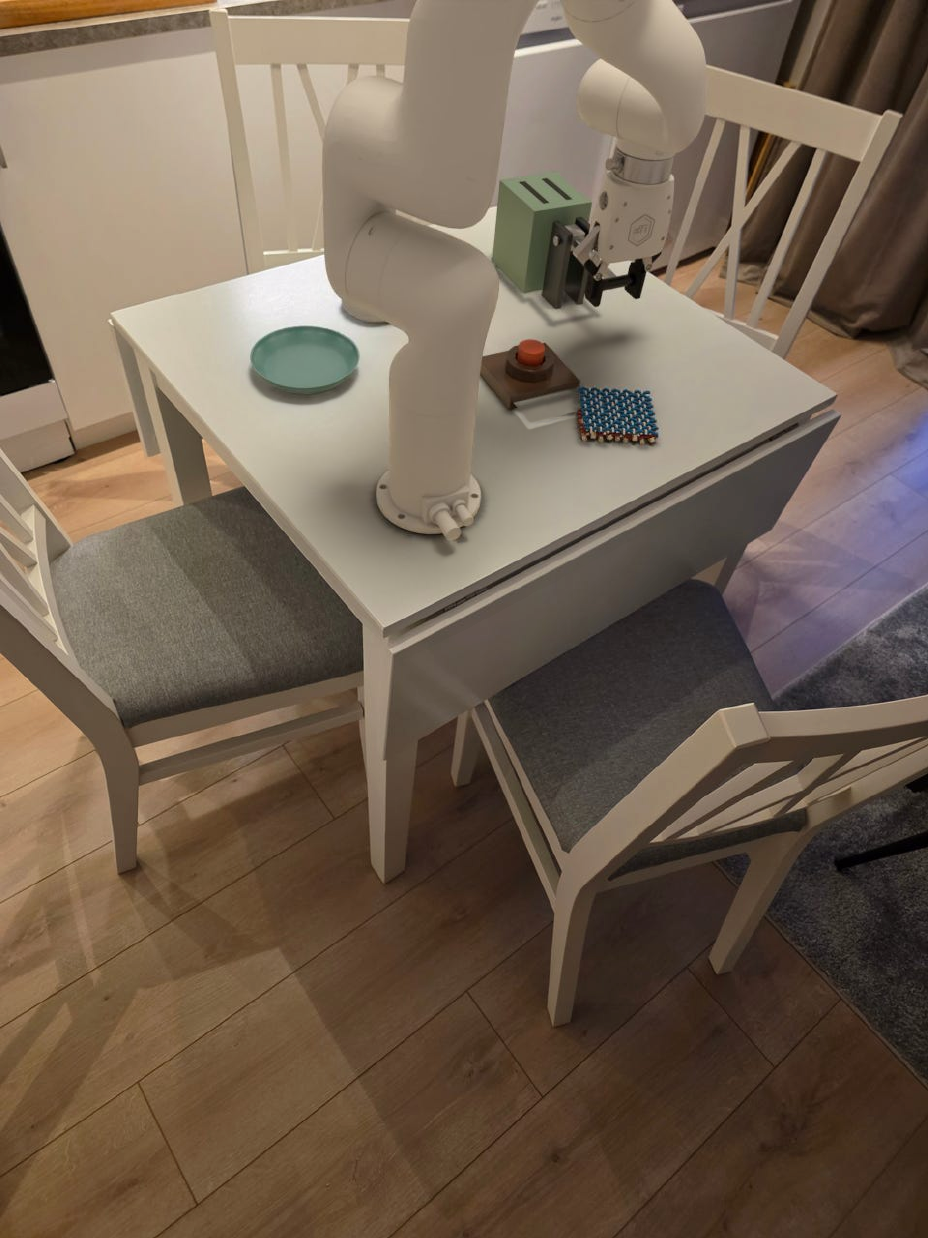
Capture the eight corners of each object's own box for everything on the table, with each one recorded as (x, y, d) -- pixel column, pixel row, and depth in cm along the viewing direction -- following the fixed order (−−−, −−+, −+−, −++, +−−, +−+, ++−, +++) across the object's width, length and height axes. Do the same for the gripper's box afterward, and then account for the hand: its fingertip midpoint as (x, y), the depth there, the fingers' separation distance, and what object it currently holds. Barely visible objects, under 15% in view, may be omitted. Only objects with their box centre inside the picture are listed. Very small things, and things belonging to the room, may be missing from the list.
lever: (633, 289, 117) (637, 274, 115) (598, 296, 115) (601, 281, 113) (583, 237, 124) (586, 221, 122) (549, 243, 122) (552, 227, 120)
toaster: (576, 290, 133) (592, 201, 122) (522, 300, 130) (534, 210, 119) (542, 258, 139) (555, 171, 128) (490, 267, 136) (499, 178, 125)
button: (547, 363, 113) (550, 350, 111) (525, 369, 112) (526, 355, 110) (535, 350, 115) (537, 336, 113) (512, 355, 113) (514, 341, 112)
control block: (577, 393, 115) (583, 368, 112) (509, 410, 111) (512, 385, 108) (543, 355, 120) (547, 330, 117) (476, 370, 117) (478, 345, 114)
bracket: (595, 315, 129) (612, 233, 119) (551, 324, 126) (565, 242, 116) (569, 289, 133) (583, 209, 123) (526, 298, 130) (537, 217, 121)
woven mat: (572, 394, 115) (574, 382, 113) (646, 399, 115) (650, 387, 114) (578, 442, 108) (580, 429, 106) (657, 447, 109) (661, 434, 107)
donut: (356, 287, 129) (331, 317, 123) (355, 266, 127) (330, 295, 120) (416, 301, 128) (393, 332, 121) (416, 280, 125) (394, 310, 119)
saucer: (230, 366, 113) (227, 349, 111) (315, 330, 120) (314, 313, 118) (297, 417, 107) (295, 400, 105) (381, 375, 114) (381, 359, 112)
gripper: (599, 184, 98) (573, 322, 112) (714, 168, 104) (676, 301, 118) (568, 159, 102) (546, 294, 116) (680, 145, 108) (647, 276, 122)
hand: (612, 296), depth 117 cm, fingers closed on lever, 6 cm apart
